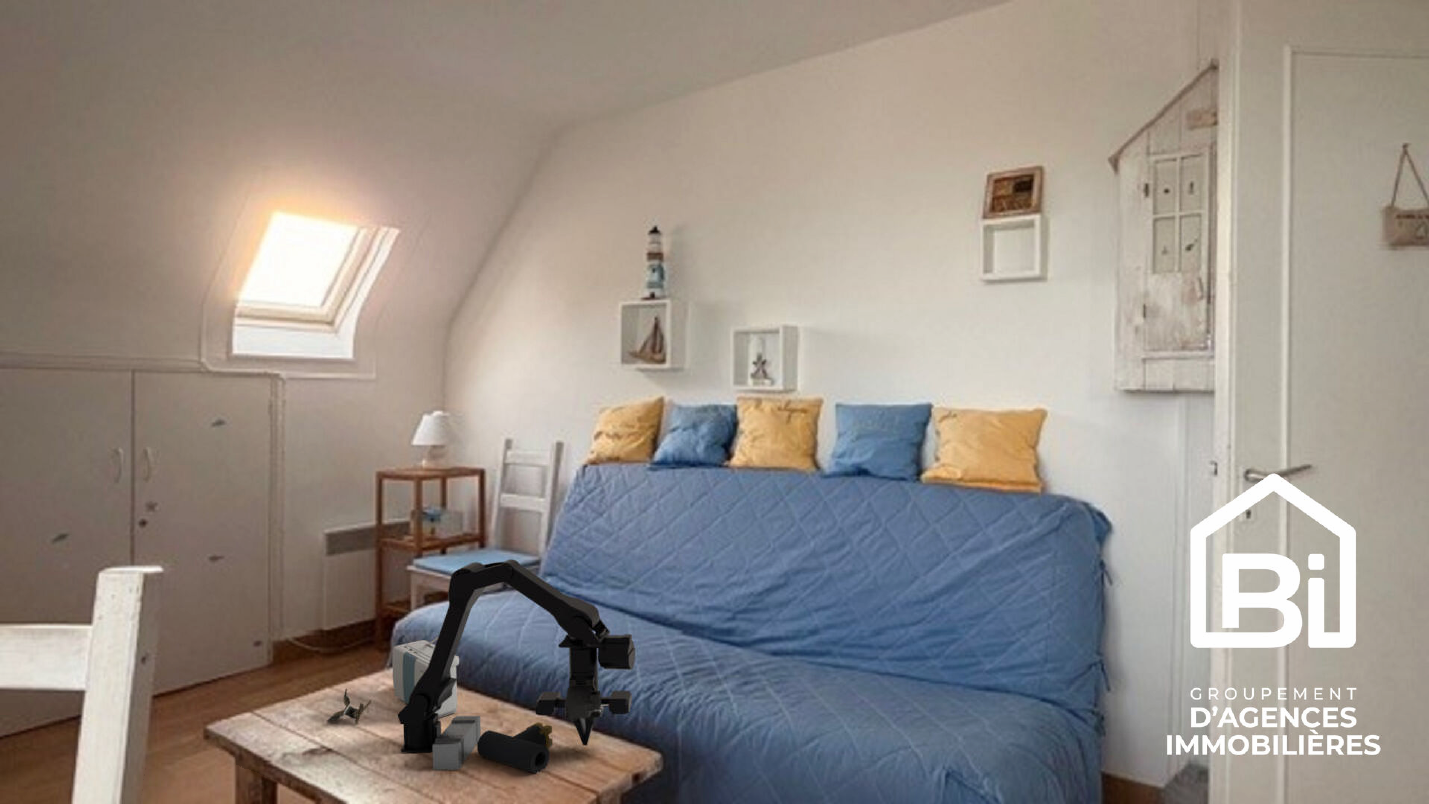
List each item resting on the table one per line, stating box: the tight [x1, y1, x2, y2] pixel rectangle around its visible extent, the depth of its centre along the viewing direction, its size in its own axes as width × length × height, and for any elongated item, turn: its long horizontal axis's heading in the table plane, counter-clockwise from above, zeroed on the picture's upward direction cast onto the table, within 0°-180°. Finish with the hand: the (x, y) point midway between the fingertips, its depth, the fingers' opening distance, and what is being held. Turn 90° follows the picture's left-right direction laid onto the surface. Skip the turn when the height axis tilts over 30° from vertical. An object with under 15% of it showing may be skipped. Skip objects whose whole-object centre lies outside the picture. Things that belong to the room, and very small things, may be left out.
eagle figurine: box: [326, 688, 372, 725], centre depth 182 cm, size 8×7×9 cm
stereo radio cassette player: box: [391, 636, 460, 719], centre depth 190 cm, size 21×8×20 cm, turn 43°
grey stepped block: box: [432, 715, 482, 771], centre depth 164 cm, size 5×14×5 cm, turn 179°
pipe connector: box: [476, 721, 554, 774], centre depth 162 cm, size 12×5×15 cm
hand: (585, 744), depth 163 cm, fingers closed
